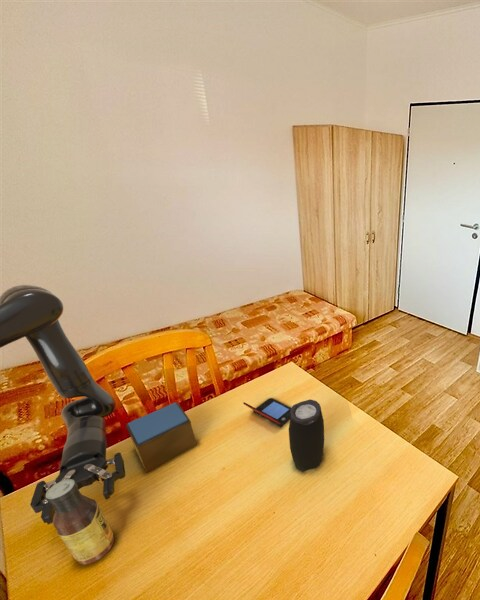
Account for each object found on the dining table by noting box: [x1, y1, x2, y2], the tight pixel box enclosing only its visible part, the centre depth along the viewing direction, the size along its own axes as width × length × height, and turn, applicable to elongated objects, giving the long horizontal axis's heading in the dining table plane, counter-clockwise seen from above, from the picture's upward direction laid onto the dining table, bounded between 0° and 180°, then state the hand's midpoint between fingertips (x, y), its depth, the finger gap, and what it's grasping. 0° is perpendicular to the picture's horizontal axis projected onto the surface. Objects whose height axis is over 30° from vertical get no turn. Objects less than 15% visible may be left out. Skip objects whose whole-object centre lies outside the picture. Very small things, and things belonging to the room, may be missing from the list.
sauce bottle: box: [46, 479, 115, 566], centre depth 64 cm, size 7×6×20 cm
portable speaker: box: [288, 398, 325, 473], centre depth 87 cm, size 9×9×20 cm
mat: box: [127, 402, 188, 445], centre depth 87 cm, size 11×9×1 cm
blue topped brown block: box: [125, 402, 197, 473], centre depth 89 cm, size 12×10×10 cm
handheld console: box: [242, 397, 292, 428], centre depth 103 cm, size 12×11×7 cm
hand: (79, 508), depth 64 cm, fingers open, 8 cm apart
